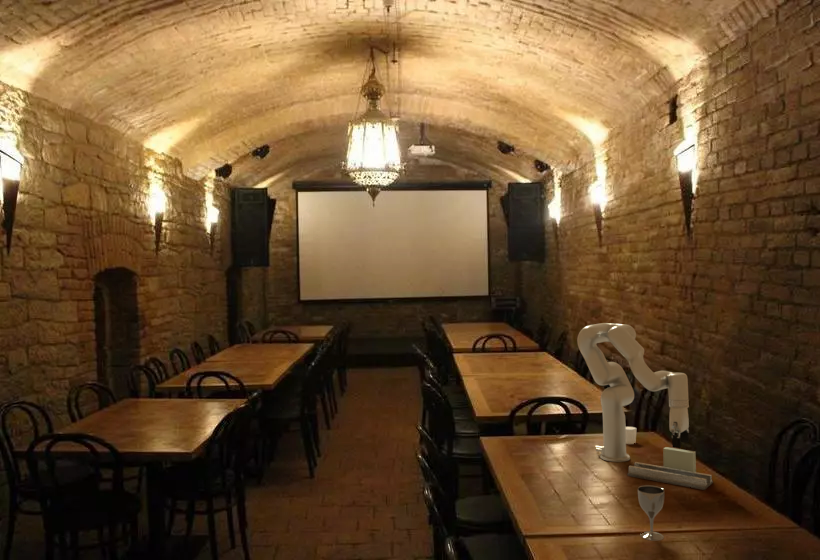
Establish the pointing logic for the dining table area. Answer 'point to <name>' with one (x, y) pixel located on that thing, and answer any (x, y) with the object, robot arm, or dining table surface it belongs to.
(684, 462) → the door panel
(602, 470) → the dining table surface
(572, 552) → the dining table surface
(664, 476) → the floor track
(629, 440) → the shot glass
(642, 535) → the wine glass
